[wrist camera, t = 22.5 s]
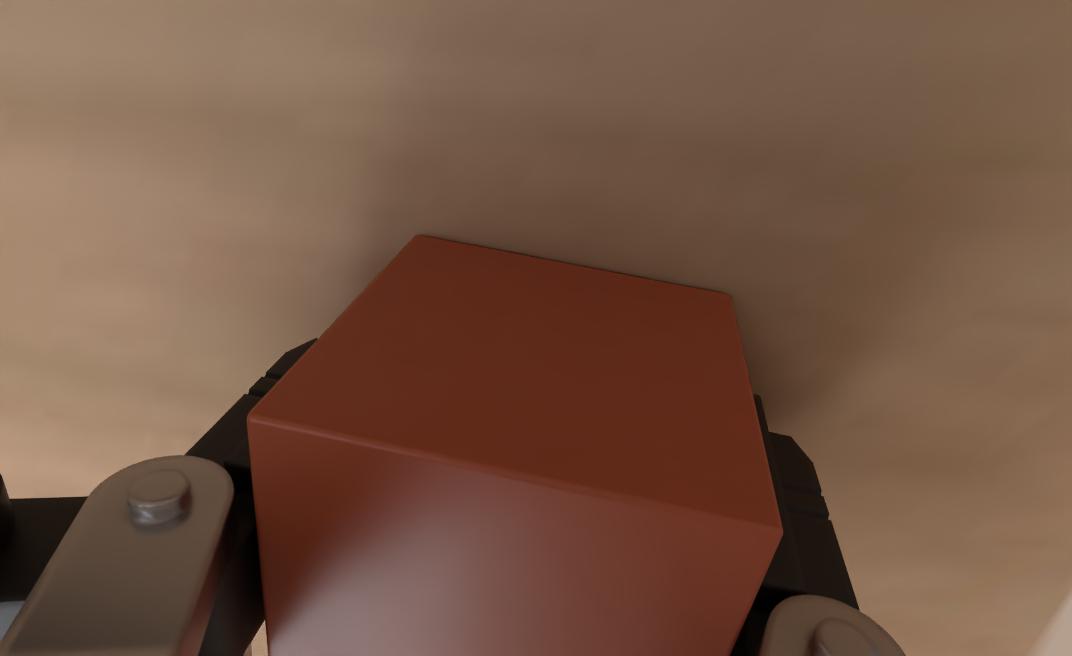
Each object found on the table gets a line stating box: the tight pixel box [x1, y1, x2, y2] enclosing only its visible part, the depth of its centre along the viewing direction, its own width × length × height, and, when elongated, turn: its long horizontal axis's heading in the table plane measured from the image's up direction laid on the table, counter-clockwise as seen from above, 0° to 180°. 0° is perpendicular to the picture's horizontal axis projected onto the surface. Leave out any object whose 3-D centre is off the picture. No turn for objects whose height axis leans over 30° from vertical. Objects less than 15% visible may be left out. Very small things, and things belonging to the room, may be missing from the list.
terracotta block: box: [247, 235, 783, 656], centre depth 8 cm, size 4×4×4 cm
